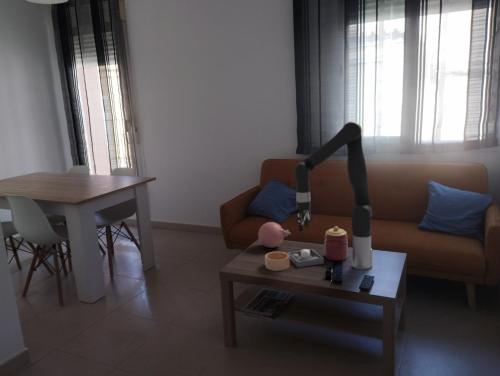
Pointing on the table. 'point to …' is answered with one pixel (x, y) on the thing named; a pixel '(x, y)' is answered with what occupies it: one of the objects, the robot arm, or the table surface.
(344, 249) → the canister
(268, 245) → the balloon
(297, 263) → the parts tray
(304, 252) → the pale stone
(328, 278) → the black bracket
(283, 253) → the terracotta bowl
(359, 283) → the table surface
